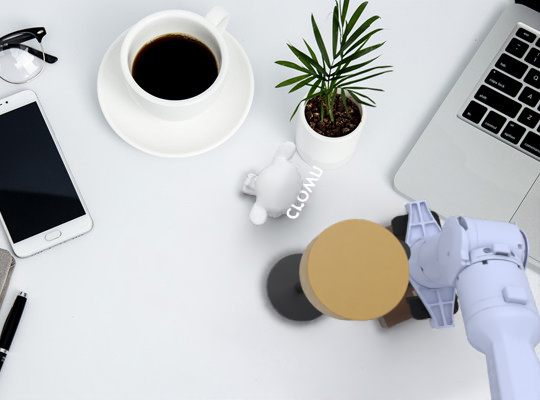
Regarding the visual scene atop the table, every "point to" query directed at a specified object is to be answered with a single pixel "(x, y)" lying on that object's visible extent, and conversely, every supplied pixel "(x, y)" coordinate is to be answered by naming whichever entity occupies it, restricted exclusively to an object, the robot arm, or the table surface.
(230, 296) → the table surface
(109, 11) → the table surface
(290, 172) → the figurine
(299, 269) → the desk lamp
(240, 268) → the table surface
